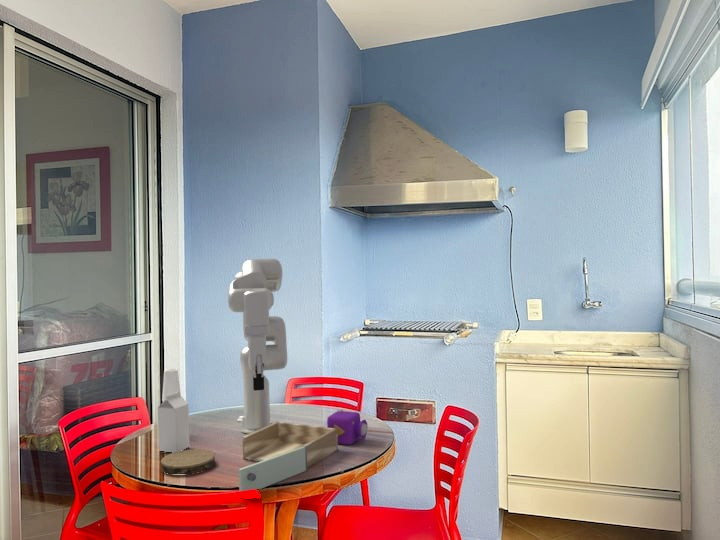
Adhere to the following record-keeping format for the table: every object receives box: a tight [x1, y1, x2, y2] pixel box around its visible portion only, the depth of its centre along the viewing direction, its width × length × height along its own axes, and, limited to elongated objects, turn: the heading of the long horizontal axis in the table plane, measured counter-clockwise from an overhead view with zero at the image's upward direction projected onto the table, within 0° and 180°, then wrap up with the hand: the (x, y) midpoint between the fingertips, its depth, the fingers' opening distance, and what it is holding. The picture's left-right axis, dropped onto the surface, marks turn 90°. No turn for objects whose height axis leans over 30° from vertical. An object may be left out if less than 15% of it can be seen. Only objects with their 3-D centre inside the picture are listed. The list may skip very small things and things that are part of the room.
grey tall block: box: [161, 368, 182, 403], centre depth 205 cm, size 7×7×24 cm
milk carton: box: [157, 391, 190, 453], centre depth 187 cm, size 7×7×19 cm
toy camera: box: [326, 409, 368, 446], centre depth 191 cm, size 11×14×10 cm
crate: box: [242, 421, 339, 470], centre depth 179 cm, size 24×19×7 cm
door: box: [238, 446, 308, 491], centre depth 155 cm, size 24×2×7 cm, turn 138°
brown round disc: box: [160, 448, 216, 475], centre depth 171 cm, size 16×16×3 cm
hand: (258, 389), depth 171 cm, fingers closed
